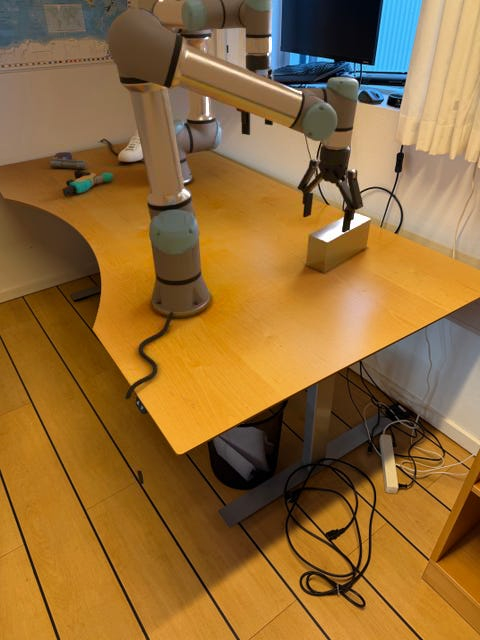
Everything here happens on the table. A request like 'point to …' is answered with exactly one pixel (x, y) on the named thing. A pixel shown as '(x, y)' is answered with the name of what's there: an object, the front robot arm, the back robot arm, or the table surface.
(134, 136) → the sneaker
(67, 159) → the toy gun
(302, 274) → the table surface
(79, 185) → the toy gun
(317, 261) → the box
